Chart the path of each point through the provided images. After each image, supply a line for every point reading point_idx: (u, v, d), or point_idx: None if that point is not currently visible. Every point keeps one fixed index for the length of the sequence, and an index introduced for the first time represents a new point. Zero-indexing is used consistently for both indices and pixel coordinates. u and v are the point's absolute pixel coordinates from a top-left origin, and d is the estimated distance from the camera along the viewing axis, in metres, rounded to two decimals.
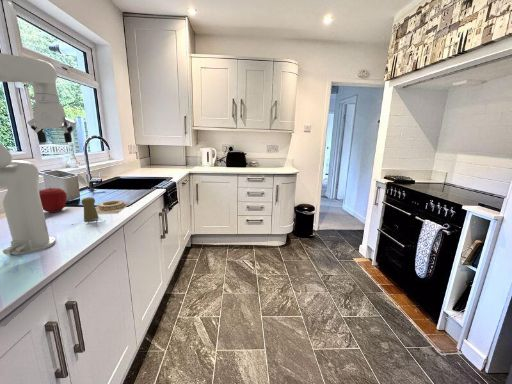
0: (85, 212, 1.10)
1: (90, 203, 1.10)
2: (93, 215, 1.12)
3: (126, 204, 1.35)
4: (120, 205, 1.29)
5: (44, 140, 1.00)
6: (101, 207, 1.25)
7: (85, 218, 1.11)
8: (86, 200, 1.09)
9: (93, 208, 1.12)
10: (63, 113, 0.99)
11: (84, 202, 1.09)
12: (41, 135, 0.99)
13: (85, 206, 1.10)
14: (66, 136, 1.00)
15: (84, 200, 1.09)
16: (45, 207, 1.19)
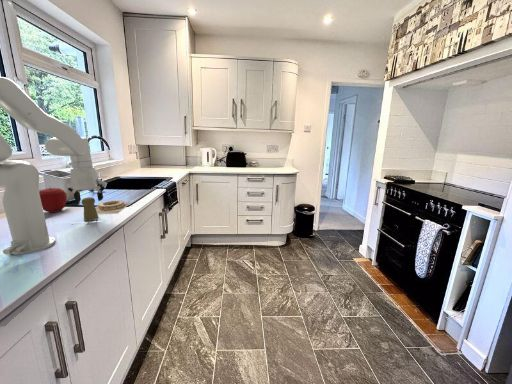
0: (85, 212, 1.10)
1: (90, 203, 1.10)
2: (93, 215, 1.12)
3: (126, 204, 1.35)
4: (120, 205, 1.29)
5: (79, 199, 1.12)
6: (101, 207, 1.25)
7: (85, 218, 1.11)
8: (86, 200, 1.09)
9: (93, 208, 1.12)
10: (96, 175, 1.10)
11: (84, 202, 1.09)
12: (77, 195, 1.10)
13: (85, 206, 1.10)
14: (99, 195, 1.11)
15: (84, 200, 1.09)
16: (45, 207, 1.19)
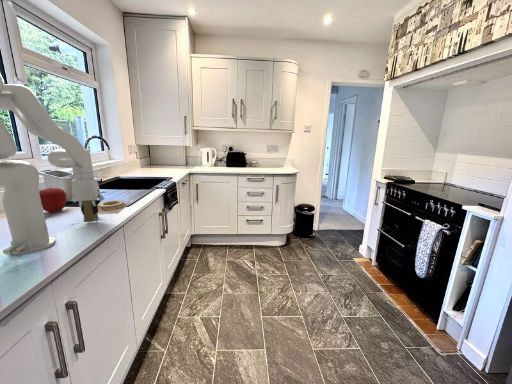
0: (85, 212, 1.10)
1: (90, 203, 1.10)
2: (93, 215, 1.12)
3: (126, 204, 1.35)
4: (120, 205, 1.29)
5: None
6: (101, 207, 1.25)
7: (85, 218, 1.11)
8: None
9: None
10: (97, 186, 1.11)
11: (84, 202, 1.09)
12: None
13: (85, 206, 1.10)
14: (94, 209, 1.12)
15: None
16: (45, 207, 1.19)
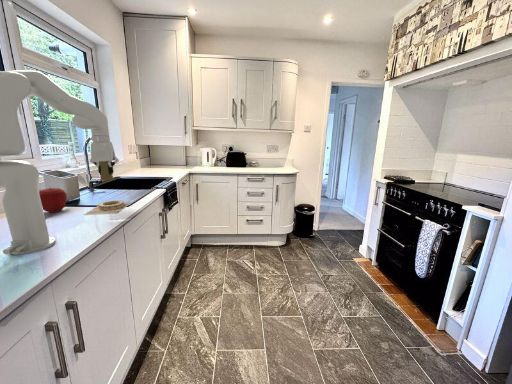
0: (102, 172, 1.24)
1: (107, 164, 1.24)
2: (109, 175, 1.25)
3: (126, 204, 1.35)
4: (120, 205, 1.29)
5: None
6: (101, 207, 1.25)
7: (102, 177, 1.24)
8: None
9: None
10: (113, 149, 1.24)
11: (101, 162, 1.22)
12: None
13: (102, 166, 1.23)
14: (110, 169, 1.25)
15: None
16: (45, 207, 1.19)
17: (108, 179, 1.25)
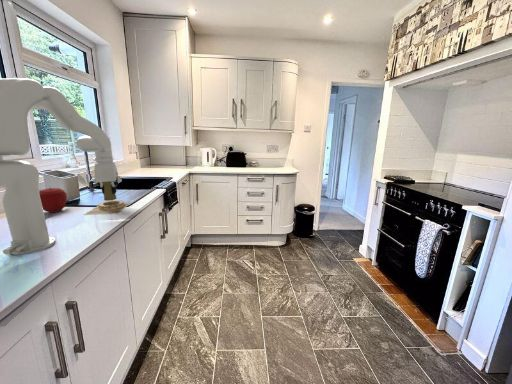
0: (105, 192, 1.27)
1: (110, 184, 1.26)
2: (112, 194, 1.28)
3: (126, 204, 1.35)
4: (120, 205, 1.29)
5: None
6: (101, 207, 1.25)
7: (105, 197, 1.27)
8: None
9: None
10: (116, 169, 1.27)
11: (105, 183, 1.25)
12: None
13: (105, 186, 1.26)
14: (113, 189, 1.28)
15: None
16: (45, 207, 1.19)
17: (111, 198, 1.28)
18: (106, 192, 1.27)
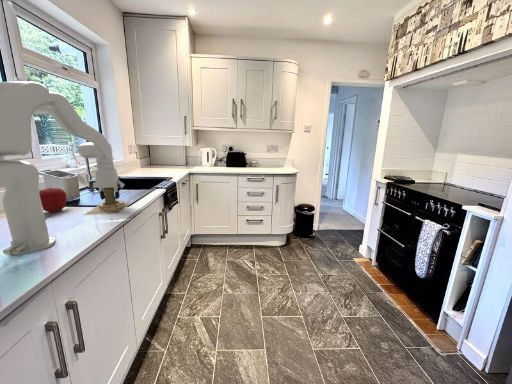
0: (106, 200, 1.27)
1: (111, 192, 1.27)
2: (113, 202, 1.29)
3: (126, 204, 1.35)
4: (120, 205, 1.29)
5: (104, 197, 1.30)
6: (101, 207, 1.25)
7: None
8: (107, 189, 1.26)
9: (113, 196, 1.29)
10: (116, 175, 1.28)
11: (106, 191, 1.26)
12: (102, 194, 1.28)
13: (106, 194, 1.27)
14: (116, 194, 1.29)
15: (106, 189, 1.26)
16: (45, 207, 1.19)
17: None
18: (107, 200, 1.27)
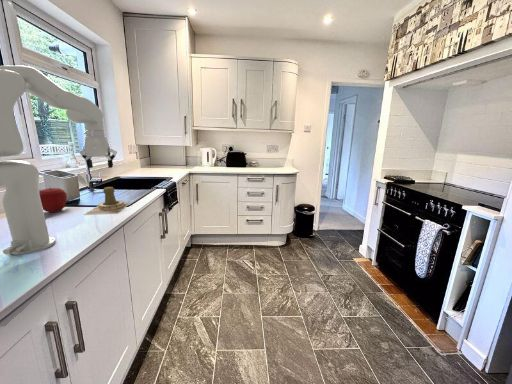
0: (106, 200, 1.27)
1: (111, 192, 1.27)
2: (113, 202, 1.29)
3: (126, 204, 1.35)
4: (120, 205, 1.29)
5: (91, 166, 1.23)
6: (101, 207, 1.25)
7: None
8: (107, 189, 1.26)
9: (113, 196, 1.29)
10: (107, 144, 1.22)
11: (105, 191, 1.26)
12: (89, 162, 1.22)
13: (106, 194, 1.27)
14: (109, 163, 1.23)
15: (105, 189, 1.26)
16: (45, 207, 1.19)
17: None
18: (107, 200, 1.27)
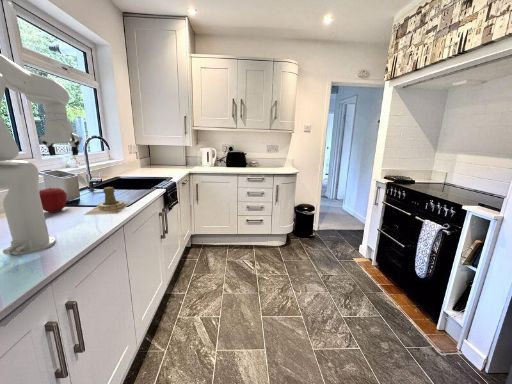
0: (106, 200, 1.27)
1: (111, 192, 1.27)
2: (113, 202, 1.29)
3: (126, 204, 1.35)
4: (120, 205, 1.29)
5: (54, 153, 1.12)
6: (101, 207, 1.25)
7: None
8: (107, 189, 1.26)
9: (113, 196, 1.29)
10: (71, 129, 1.10)
11: (105, 191, 1.26)
12: (51, 149, 1.10)
13: (106, 194, 1.27)
14: (73, 150, 1.11)
15: (105, 189, 1.26)
16: (45, 207, 1.19)
17: None
18: (107, 200, 1.27)
